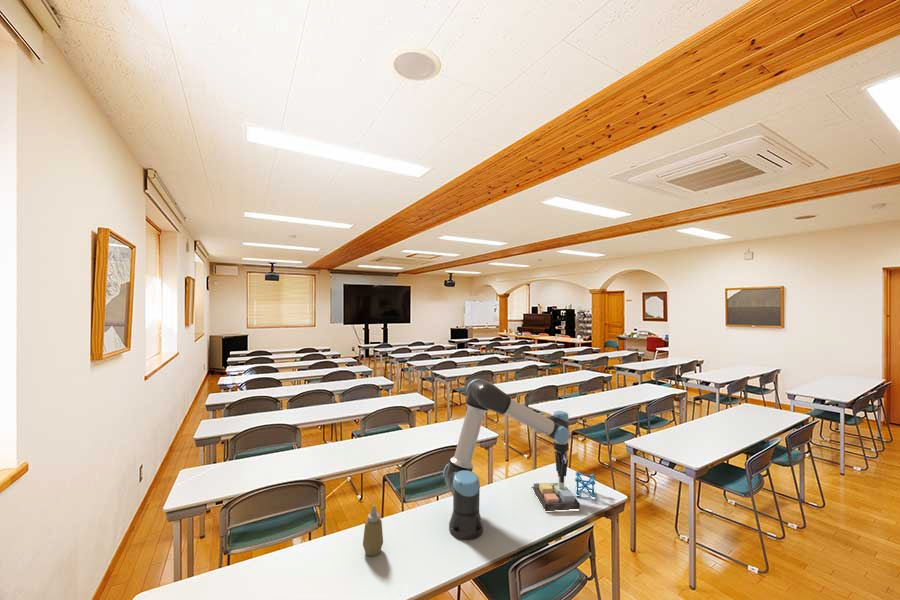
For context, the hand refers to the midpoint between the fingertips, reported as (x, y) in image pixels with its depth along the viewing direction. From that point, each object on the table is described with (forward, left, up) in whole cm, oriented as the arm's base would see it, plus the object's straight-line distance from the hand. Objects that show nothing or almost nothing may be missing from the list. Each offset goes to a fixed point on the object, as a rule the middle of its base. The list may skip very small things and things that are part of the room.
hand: (561, 487), depth 189 cm
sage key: (0, 0, -3) cm, 3 cm away
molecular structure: (+14, +3, -6) cm, 16 cm away
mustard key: (-8, 0, -2) cm, 8 cm away
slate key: (0, -8, -2) cm, 8 cm away
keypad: (-4, -1, -6) cm, 7 cm away
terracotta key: (-8, -8, -3) cm, 12 cm away
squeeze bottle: (-92, -38, -6) cm, 99 cm away
